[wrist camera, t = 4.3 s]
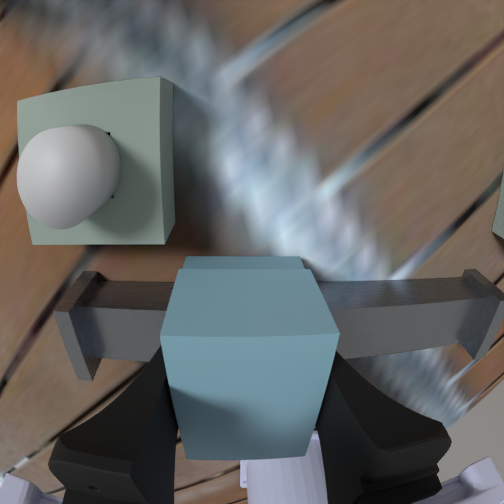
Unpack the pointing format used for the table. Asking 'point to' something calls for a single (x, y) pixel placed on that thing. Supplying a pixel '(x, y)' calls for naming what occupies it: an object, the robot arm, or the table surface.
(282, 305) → the block
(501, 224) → the green square holed block
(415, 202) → the table surface
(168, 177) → the green block white knob
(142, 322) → the rail
